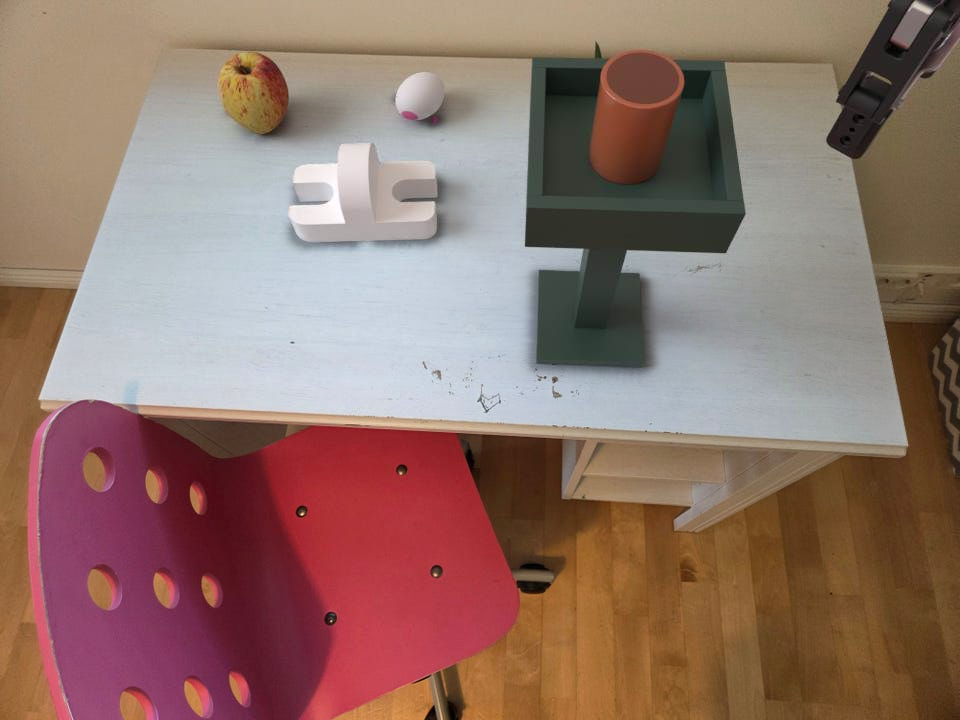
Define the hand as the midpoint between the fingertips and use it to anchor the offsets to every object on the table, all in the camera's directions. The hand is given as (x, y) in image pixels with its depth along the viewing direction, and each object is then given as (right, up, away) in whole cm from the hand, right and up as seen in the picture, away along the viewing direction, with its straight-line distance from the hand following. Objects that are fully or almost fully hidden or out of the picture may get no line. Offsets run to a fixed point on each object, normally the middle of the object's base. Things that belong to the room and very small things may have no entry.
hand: (880, 108), depth 41 cm
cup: (-12, +2, +16) cm, 20 cm away
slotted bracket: (-38, +4, +48) cm, 62 cm away
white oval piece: (-32, +20, +56) cm, 68 cm away
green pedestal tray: (-11, -10, +40) cm, 43 cm away
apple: (-54, +18, +56) cm, 80 cm away
